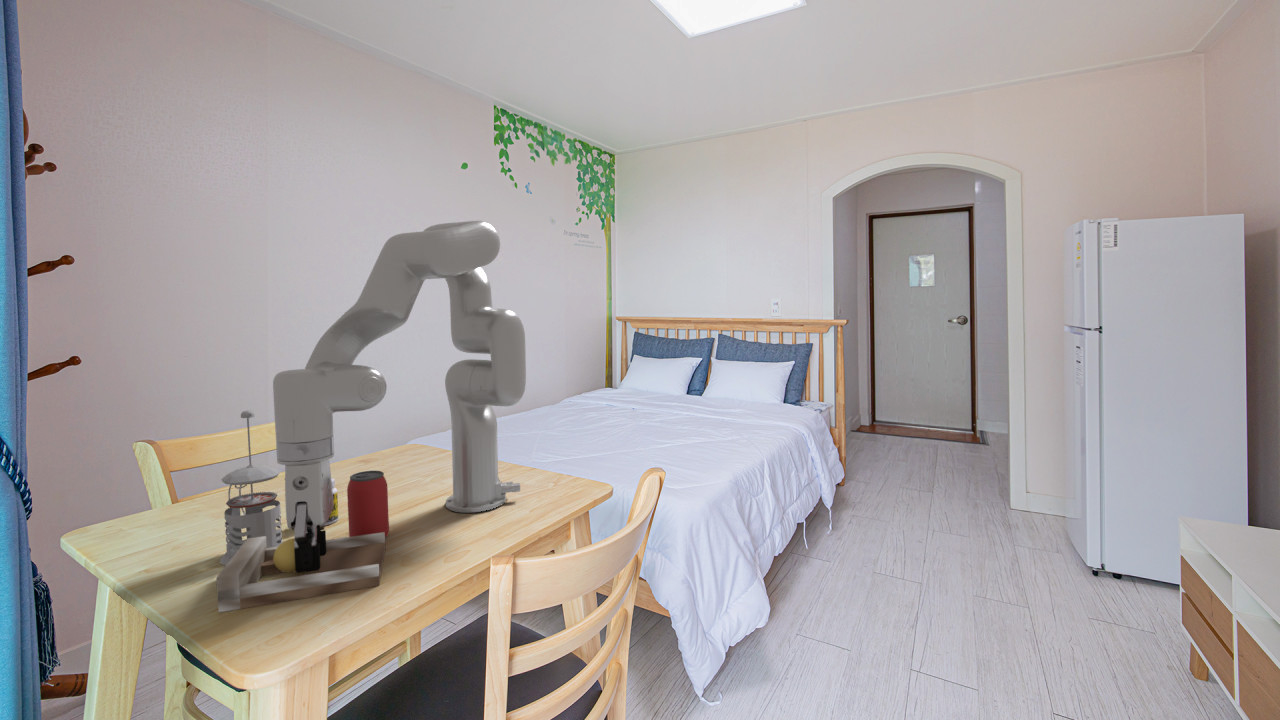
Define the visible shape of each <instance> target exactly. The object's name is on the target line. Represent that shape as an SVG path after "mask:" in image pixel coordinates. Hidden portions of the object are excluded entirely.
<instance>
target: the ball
mask: <svg viewBox="0 0 1280 720" xmlns="http://www.w3.org/2000/svg"><path fill="white" fill-rule="evenodd" d="M294 538H295V537H292V538H289V539H287V540H285V541H284V540H283V541H284V542H283V543H281V544H280V545H279V546H278V547H277V549H276V550H275V553H274V556H273V561H274V564H275V566H276V567H277V568H278V569H279V570H281V571H283V572H282V573H296V571H295V553H294V548H295V547H294Z"/></svg>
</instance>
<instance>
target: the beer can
mask: <svg viewBox="0 0 1280 720" xmlns="http://www.w3.org/2000/svg"><path fill="white" fill-rule="evenodd" d="M384 474H385V473H384V472H383V471H381V470H366V471H359V472H356V473H353V474H352V475H350V476H349V481H348V484H347V489H346V490H347V491H346V492H347V493H346V495H347V514H348V515H347V517H348V518H347V521H348V537H352V536H360V535H367V534H375V533H382V532H385V538H386V537H388V536H389V534H390V524H389V523H390V521H389V519H390V517H389V496H388V494H389V491H388V489H389V488H388V481H387V480H386V477H385V475H384Z"/></svg>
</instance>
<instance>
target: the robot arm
mask: <svg viewBox="0 0 1280 720" xmlns="http://www.w3.org/2000/svg"><path fill="white" fill-rule="evenodd" d="M500 239H501V238H500V236H499V233H498V232H497V230H496V229H495V228H494V226H493V225H491V224H490V223H488V222H486V221H484V220H469V221H461V222H460V221H457V222H447V223H446V222H445V223H439V224H434V225H430V226H428V227H426V228H425V229H424V230H422V231H413V232H403V233H398V234H394V235H392V236H391V237H390V238H388V239H387V240H386V242H385V243H384V244H383V246H382V248H381V250H380V252H379V254H378V256H377V259H376V260H375V262H374V265H373V267H372V269H371V271H370V274H369V276H368V278H367V280H366V282H365V284H364V287H363V289H362V291H361V293H360V294H359V297H358V299H357V301H356V302H355V303H354V304H353V305H352V306H351V307H350V308H349V309H348V310H346V311H345V312H344V313H343V314H342V315H341V316H340V317H339V318H338V319H337V320H336V321H335V322H334V323H333V324H332V325H331V326H330V327H329V328H328V329H327V330H326V331H325V332H324V333H323V335H322V336H321V337H320V338H319V340H318V341H317V343H316V344H315V346H314V349H312V353H311V354H310V356H309V358H308V361H307V363H306V365H305V367H304V369H303V368H302V369H301V368H300V369H289V370H283V371H280V372H278V373H276V374H275V376H274V377H273V380H272V391H273V392H272V393H273V394H272V395H273V409H274V410H273V411H274V424H275V425H274V427H275V444H276V446H275V447H276V448H275V449H276V463H277V464H279V465H284V467H285V468H284V469H285V470H284V489H285V491H284V492H285V493H284V494H285V495H284V496H285V499H284V501H285V519H286V525H287V528H288V529H289V530H291V531H293V530H294V537H293V538H294V547H295V548H294V553H295V573H296V574H301V573H302V574H303V573H304V574H305V573H306V572H310V571H317V570H319V569H320V556H324V555H325V554H326V540H327V538H326V537H327V535H326V534H327V533H326V530H325V527H326V525H325V524H326V522H327V521H328V519H329V517H330V514H331V512H332V510H333V506H334V503H333V492H332V480H331V478H332V472H331V463H330V460H331V459H333V458H334V457H335V441H334V419H333V418H334V417H333V414H334V413H337V412H338V413H339V412H341V413H342V412H361V411H366V410H370V409H372V408H374V407H376V406H377V405H378V404H380V403H381V402H382V401H383V400H384V398H385V396H386V393H387V381H386V379H385V377H384V376H383V374H382V373H381V372H380V371H378V370H376V369H375V368H373V367H370V366H367V365H360V364H354V363H355V360H356V359H357V358H358V356H359V355H360V353H361V352H362V351H364V349H365V348H367V347H368V346H369V345H370V344H371V343H373V342H374V341H376V340H378V339H380V338H382V337H385V336H386V335H387V334H389V333H392V332H393V331H395V330H397V329H399V328H400V327H402V326H404V325H405V324H406V323H407V321H408V320H409V317H410V314H411V312H412V311H413V307H414V305H415V302H416V300H417V298H418V296H419V294H420V291H421V289H422V287H423V285H424V282H425V280H433V279H437V280H438V279H439V280H440V279H445V281H446V284H447V287H448V292H449V312H450V315H449V317H450V333H451V334H450V335H451V336H450V337H451V342H452V345H453V347H455V348H456V349H457V351H460V352H463V353H469V354H483V355H490V360H489V359H474V358H473V359H463V360H459V361H457V362H455V363H454V364H452V365H451V366H450V367H449V369H448V370H447V373H446V375H445V380H444V385H445V392H446V396H447V400H448V405H449V411H450V421H451V422H450V423H451V456H452V457H451V460H452V461H451V462H452V466H451V467H452V468H451V469H452V495H450V496H448V497H447V498H446V499H445V508H447V509H448V510H449V511H452V512H455V513H463V514H466V513H471V514H472V513H481V511H482V512H487V511H491V510H493V508H494V509H497V508H499V507H501V506H502V505H503V504H505V503H506V501H505V500H507V496H506V493H507V494H508V493H518V492H521V484H520V483H521V482H514V483H513V481H506V482H502V481H501V480H500V479H499V461H498V460H499V458H498V457H499V456H498V455H499V453H498V448H499V447H498V421H497V416H496V414H495V411H494V409H493V407H505V408H507V407H511V406H515V405H517V404H518V403H519V402H520V401H521V400H522V398H523V397H524V394H525V391H526V383H527V376H526V375H527V369H526V367H527V366H526V365H527V363H526V362H527V361H526V333H525V328H524V324H523V322H522V320H521V319H520V317H519V315H518V314H517V313H515V312H514V311H512V310H510V309H506V308H493V301H492V300H493V299H492V287H491V284H490V280H489V277H488V275H487V273H486V272H485V269H483V268H482V267H485V266H487V265H489V264H491V263H492V262H493V261H495V259H496V258H497V256H498V255H499V252H500V249H501V241H500ZM492 406H493V407H492ZM504 502H505V503H504ZM501 504H502V505H501ZM500 505H501V506H500ZM498 506H499V507H498ZM496 507H497V508H496ZM490 509H491V510H490ZM486 510H487V511H486Z"/></svg>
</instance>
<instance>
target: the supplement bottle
mask: <svg viewBox="0 0 1280 720" xmlns="http://www.w3.org/2000/svg"><path fill="white" fill-rule="evenodd" d="M331 480H332V492H333V503H334V506H333V510H332V512H331V514H330V517H329V519H328V521H327V522H326V524H325V526H328V525H331V524H334V523H336V522H337V521H338V520H339V504H338V503H339V501H338V500H339V499H338V497H339V496H338V489H337V488H336V479H335V478H334V477H333V478H332V477H331Z"/></svg>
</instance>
